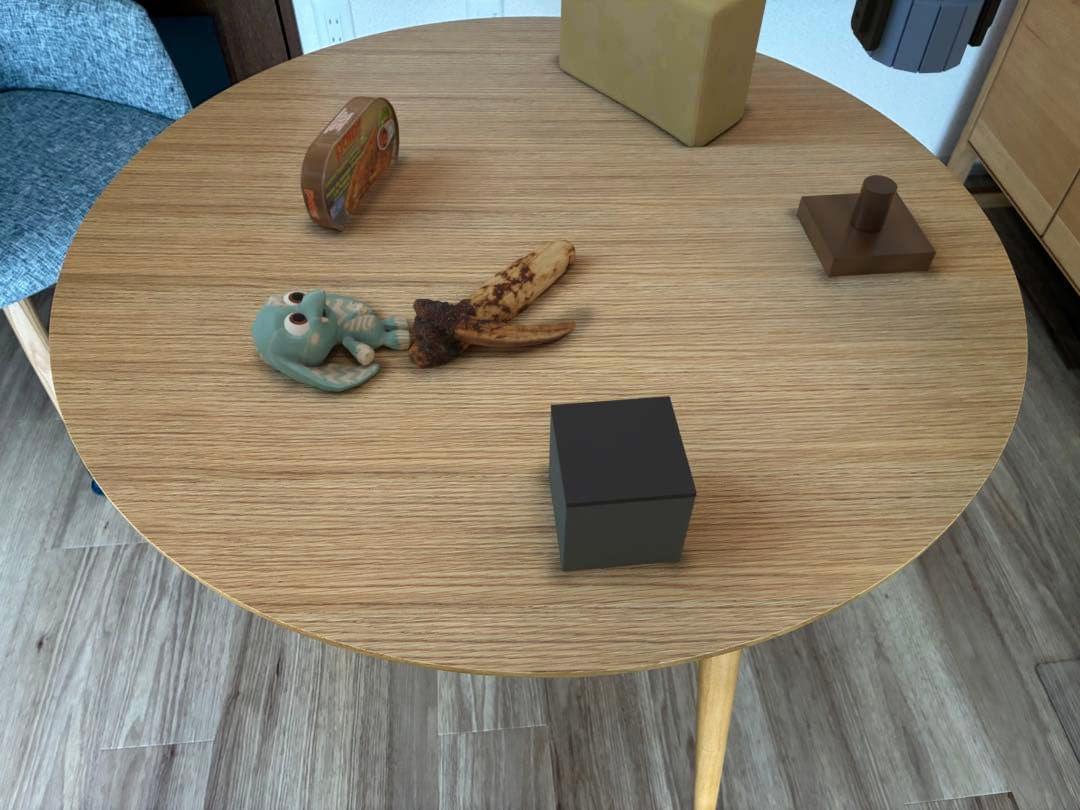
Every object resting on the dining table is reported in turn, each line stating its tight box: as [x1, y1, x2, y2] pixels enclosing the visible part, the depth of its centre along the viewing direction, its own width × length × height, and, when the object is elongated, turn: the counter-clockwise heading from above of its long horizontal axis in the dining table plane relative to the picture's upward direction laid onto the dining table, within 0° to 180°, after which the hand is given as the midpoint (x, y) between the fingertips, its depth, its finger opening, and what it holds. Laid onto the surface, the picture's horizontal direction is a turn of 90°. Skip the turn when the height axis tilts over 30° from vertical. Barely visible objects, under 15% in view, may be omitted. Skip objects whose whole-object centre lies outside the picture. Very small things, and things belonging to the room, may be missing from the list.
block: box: [548, 395, 698, 572], centre depth 55 cm, size 8×8×8 cm
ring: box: [861, 0, 985, 75], centre depth 58 cm, size 7×7×4 cm
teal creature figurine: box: [250, 288, 413, 393], centre depth 66 cm, size 11×7×12 cm
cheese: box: [558, 0, 767, 149], centre depth 89 cm, size 22×10×15 cm, turn 48°
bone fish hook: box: [408, 239, 577, 370], centre depth 69 cm, size 9×5×18 cm
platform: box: [796, 174, 937, 278], centre depth 75 cm, size 9×9×7 cm
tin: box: [300, 95, 400, 232], centre depth 79 cm, size 15×3×8 cm, turn 162°
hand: (915, 37), depth 59 cm, fingers closed on ring, 6 cm apart
